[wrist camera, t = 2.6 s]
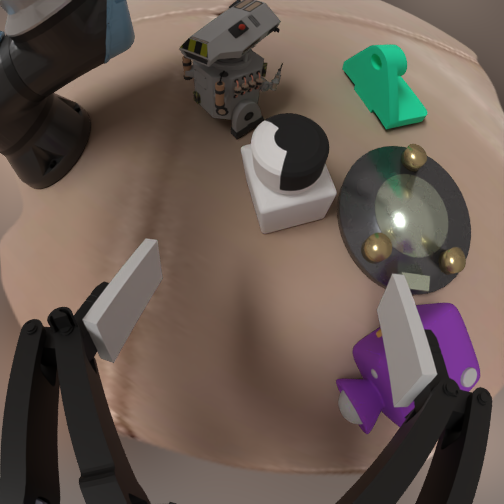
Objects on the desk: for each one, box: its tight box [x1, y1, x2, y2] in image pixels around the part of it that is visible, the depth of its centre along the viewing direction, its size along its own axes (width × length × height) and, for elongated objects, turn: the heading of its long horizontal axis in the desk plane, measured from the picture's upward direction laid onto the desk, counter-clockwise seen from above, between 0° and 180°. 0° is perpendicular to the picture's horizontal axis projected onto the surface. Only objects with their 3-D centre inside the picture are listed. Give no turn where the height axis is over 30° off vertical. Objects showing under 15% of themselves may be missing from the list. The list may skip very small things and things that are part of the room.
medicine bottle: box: [241, 113, 337, 234], centre depth 26 cm, size 7×7×12 cm
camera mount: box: [342, 45, 427, 129], centre depth 30 cm, size 12×8×10 cm, turn 20°
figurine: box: [179, 0, 283, 139], centre depth 28 cm, size 9×12×15 cm
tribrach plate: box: [337, 144, 471, 295], centre depth 29 cm, size 18×18×4 cm
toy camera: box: [336, 303, 480, 434], centre depth 23 cm, size 11×14×10 cm
